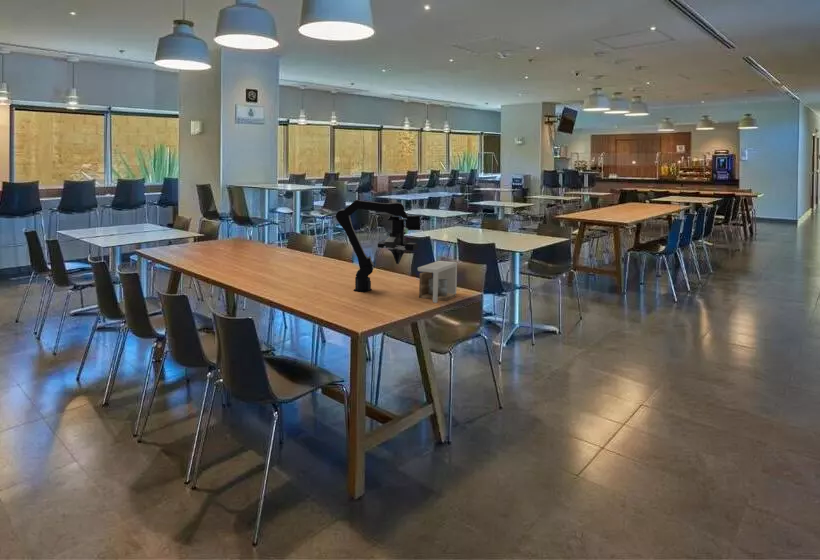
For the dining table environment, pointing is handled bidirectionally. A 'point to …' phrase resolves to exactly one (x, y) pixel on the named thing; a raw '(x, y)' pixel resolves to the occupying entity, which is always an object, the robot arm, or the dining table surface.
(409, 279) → the dining table surface
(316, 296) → the dining table surface
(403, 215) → the robot arm
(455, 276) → the counter
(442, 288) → the caddy
